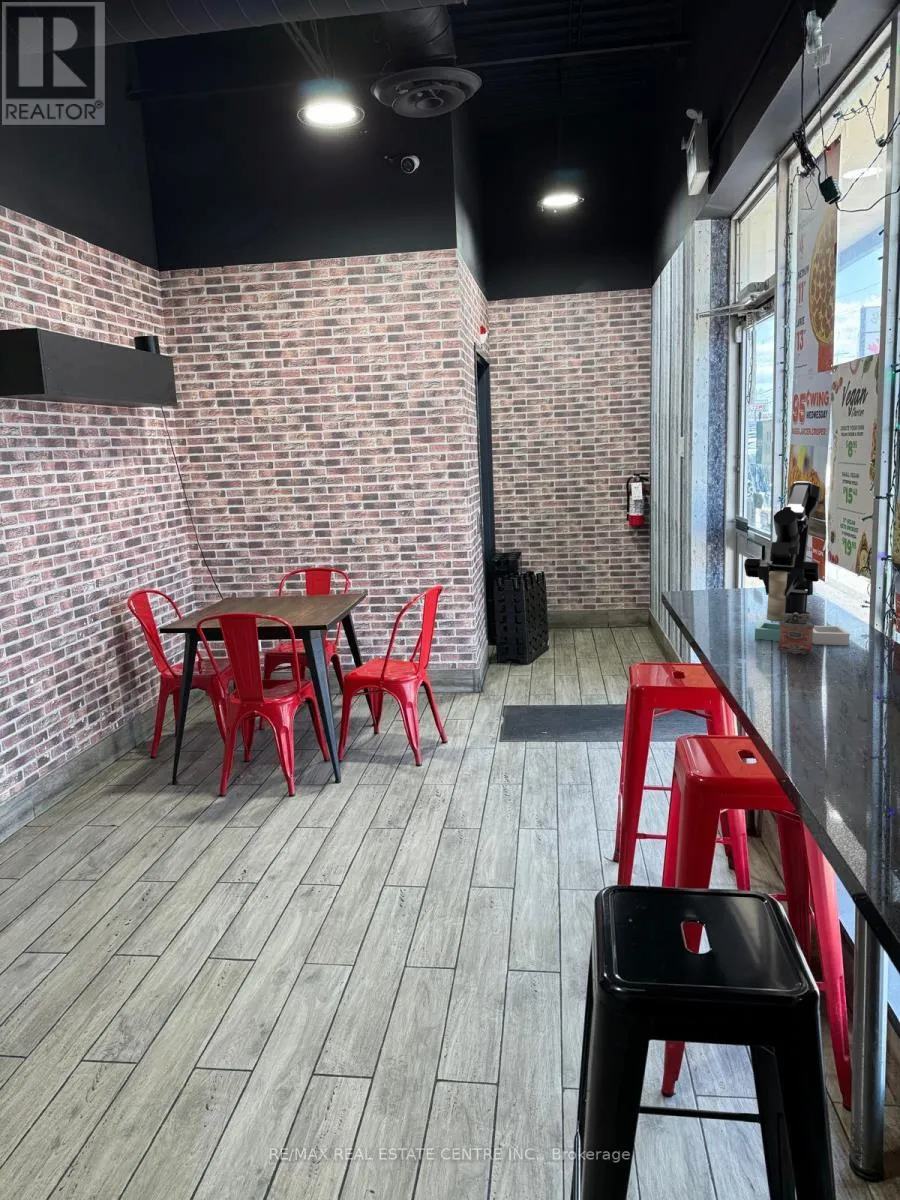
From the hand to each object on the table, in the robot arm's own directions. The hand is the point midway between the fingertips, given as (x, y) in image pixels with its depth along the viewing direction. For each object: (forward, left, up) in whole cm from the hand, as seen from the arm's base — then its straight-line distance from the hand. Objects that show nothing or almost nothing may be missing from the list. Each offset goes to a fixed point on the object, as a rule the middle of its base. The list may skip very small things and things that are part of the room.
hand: (776, 594), depth 221 cm
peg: (-1, -1, -7) cm, 7 cm away
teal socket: (-1, -1, -12) cm, 12 cm away
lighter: (+3, +13, -12) cm, 18 cm away
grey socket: (-12, +6, -12) cm, 18 cm away
